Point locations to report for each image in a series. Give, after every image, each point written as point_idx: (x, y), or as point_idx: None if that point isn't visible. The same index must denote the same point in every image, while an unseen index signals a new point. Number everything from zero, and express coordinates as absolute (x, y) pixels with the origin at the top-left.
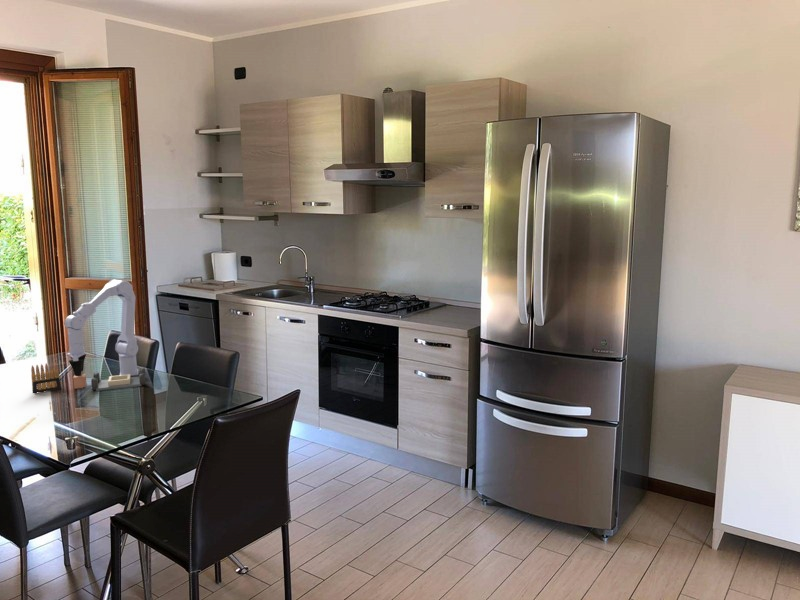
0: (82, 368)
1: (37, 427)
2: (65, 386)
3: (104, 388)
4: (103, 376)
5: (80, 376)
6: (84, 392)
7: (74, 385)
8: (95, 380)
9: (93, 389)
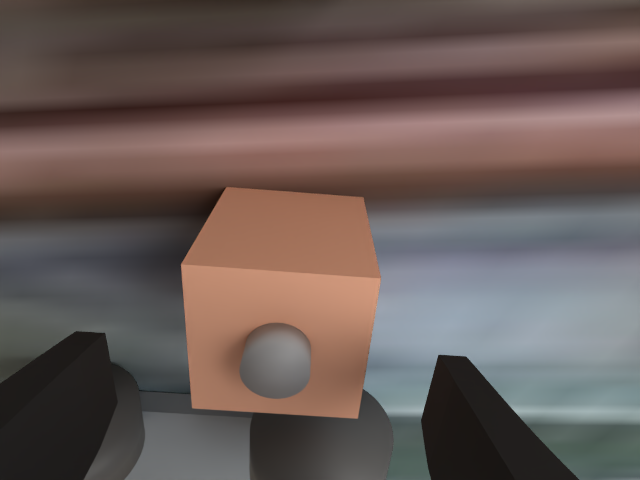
0: (433, 469)
1: None
2: (410, 61)
3: None
4: (598, 436)
5: (218, 361)
6: (16, 292)
7: (217, 207)
8: None
9: None
